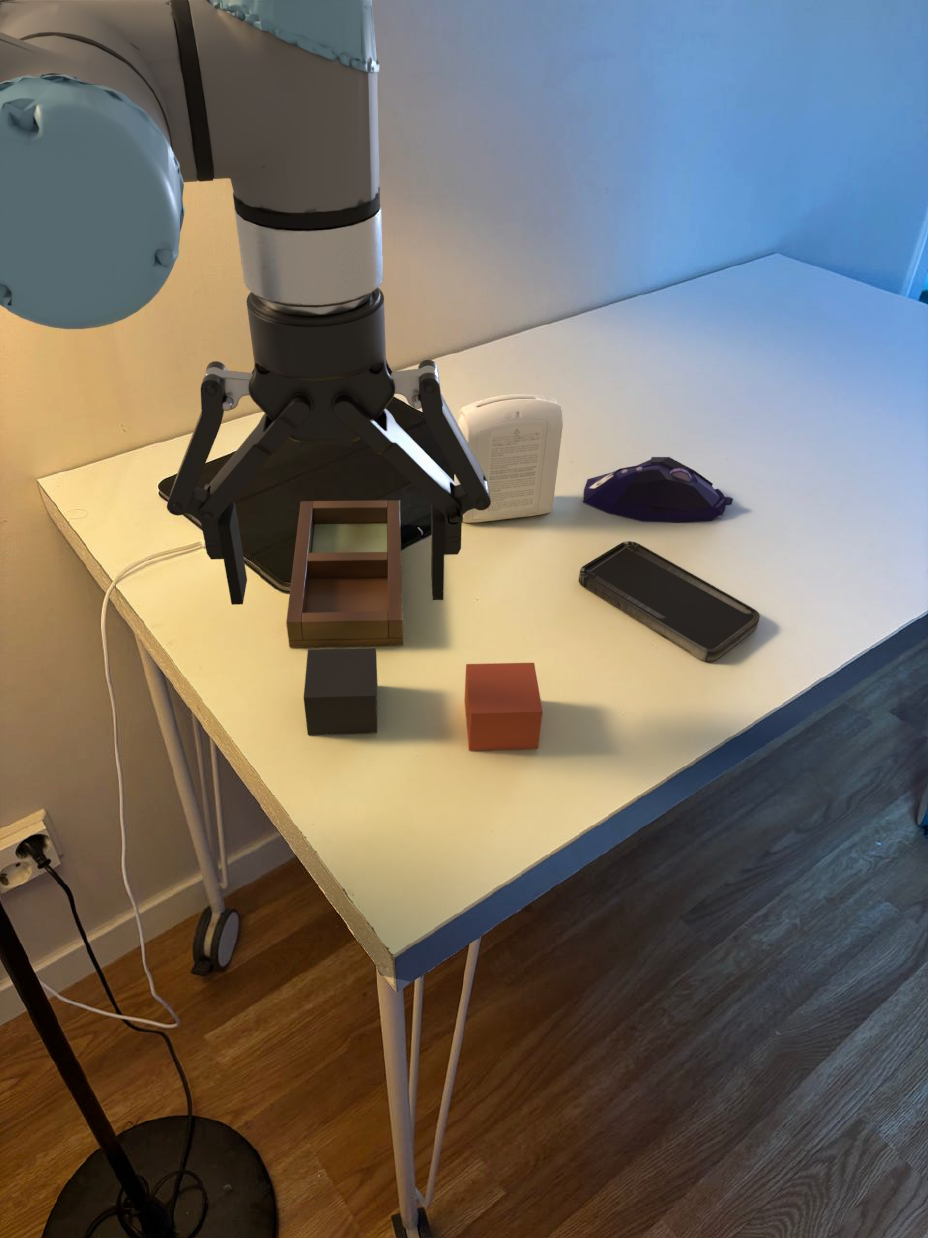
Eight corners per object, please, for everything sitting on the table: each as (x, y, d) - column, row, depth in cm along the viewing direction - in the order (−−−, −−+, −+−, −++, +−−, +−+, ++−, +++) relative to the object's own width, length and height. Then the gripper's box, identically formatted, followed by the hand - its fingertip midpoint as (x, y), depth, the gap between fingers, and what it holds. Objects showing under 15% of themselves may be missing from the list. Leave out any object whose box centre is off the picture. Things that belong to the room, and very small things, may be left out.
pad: (468, 751, 71) (470, 713, 68) (464, 700, 75) (466, 663, 72) (538, 749, 71) (542, 711, 69) (530, 699, 75) (534, 662, 72)
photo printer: (544, 492, 98) (556, 381, 90) (559, 515, 95) (572, 402, 87) (447, 504, 95) (450, 392, 87) (459, 528, 92) (463, 414, 84)
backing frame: (289, 647, 79) (286, 622, 77) (302, 525, 92) (300, 500, 90) (403, 645, 79) (402, 620, 78) (400, 524, 93) (399, 499, 91)
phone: (629, 538, 90) (765, 614, 82) (627, 547, 91) (762, 624, 83) (573, 571, 86) (711, 656, 78) (572, 581, 86) (708, 666, 78)
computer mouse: (589, 464, 102) (593, 431, 100) (729, 483, 100) (738, 450, 98) (579, 512, 95) (584, 478, 93) (730, 533, 93) (739, 499, 91)
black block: (307, 735, 71) (303, 697, 69) (311, 686, 75) (307, 649, 73) (377, 733, 72) (375, 696, 69) (377, 685, 76) (376, 647, 73)
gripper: (533, 262, 56) (512, 554, 70) (97, 262, 54) (165, 560, 68) (550, 315, 50) (524, 621, 64) (63, 316, 48) (145, 629, 62)
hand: (339, 590), depth 66 cm, fingers open, 13 cm apart
